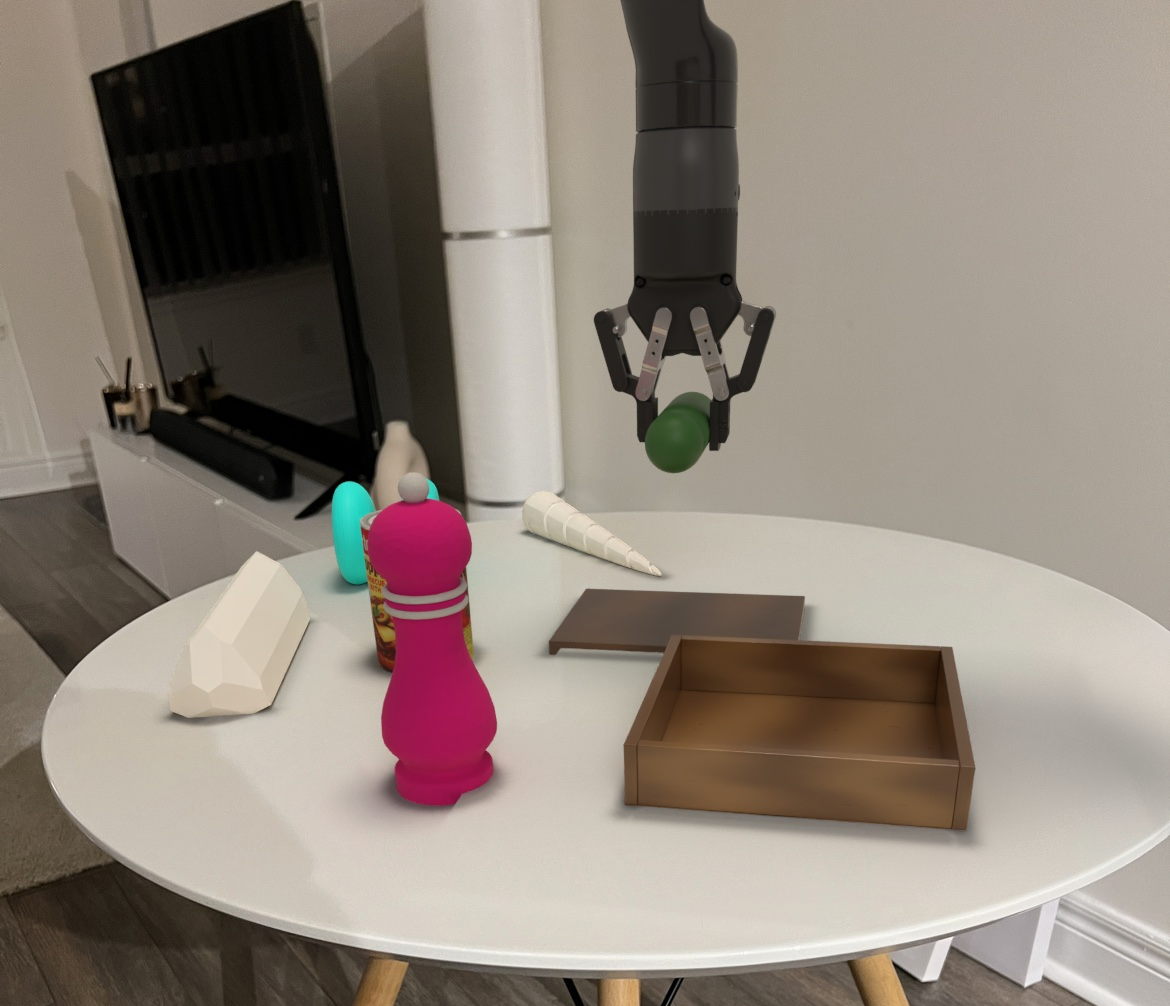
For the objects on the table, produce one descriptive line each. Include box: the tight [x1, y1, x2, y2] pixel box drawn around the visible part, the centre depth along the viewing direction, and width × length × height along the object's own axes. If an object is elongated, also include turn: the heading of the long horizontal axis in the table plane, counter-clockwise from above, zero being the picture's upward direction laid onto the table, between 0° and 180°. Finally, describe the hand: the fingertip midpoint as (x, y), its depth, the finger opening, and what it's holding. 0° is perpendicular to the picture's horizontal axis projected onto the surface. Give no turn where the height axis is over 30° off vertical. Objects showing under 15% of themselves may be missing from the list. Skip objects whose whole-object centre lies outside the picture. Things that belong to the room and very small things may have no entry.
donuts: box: [331, 478, 440, 586], centre depth 109 cm, size 10×10×10 cm
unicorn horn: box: [521, 490, 663, 577], centre depth 116 cm, size 5×24×5 cm, turn 29°
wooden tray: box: [623, 635, 976, 832], centre depth 71 cm, size 20×19×5 cm
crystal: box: [167, 550, 311, 719], centre depth 90 cm, size 7×7×24 cm
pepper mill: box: [367, 471, 498, 807], centre depth 66 cm, size 7×7×20 cm
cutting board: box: [548, 588, 806, 656], centre depth 94 cm, size 20×14×2 cm
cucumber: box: [644, 391, 712, 474], centre depth 86 cm, size 14×4×4 cm, turn 168°
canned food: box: [360, 508, 475, 674], centre depth 88 cm, size 8×8×12 cm
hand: (683, 447), depth 87 cm, fingers closed on cucumber, 4 cm apart
